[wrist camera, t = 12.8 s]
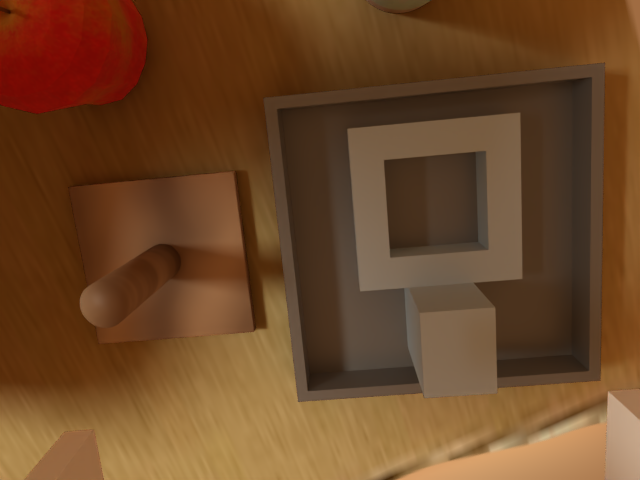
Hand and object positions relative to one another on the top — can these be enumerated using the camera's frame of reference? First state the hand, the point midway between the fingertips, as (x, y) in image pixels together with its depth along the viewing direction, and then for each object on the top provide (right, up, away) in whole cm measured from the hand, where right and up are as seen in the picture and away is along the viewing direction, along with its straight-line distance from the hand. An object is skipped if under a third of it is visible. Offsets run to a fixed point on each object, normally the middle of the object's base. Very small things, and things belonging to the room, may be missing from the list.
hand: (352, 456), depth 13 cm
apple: (-15, +18, +20) cm, 30 cm away
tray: (+7, +6, +21) cm, 23 cm away
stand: (-11, +4, +22) cm, 25 cm away
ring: (+7, +6, +21) cm, 22 cm away
